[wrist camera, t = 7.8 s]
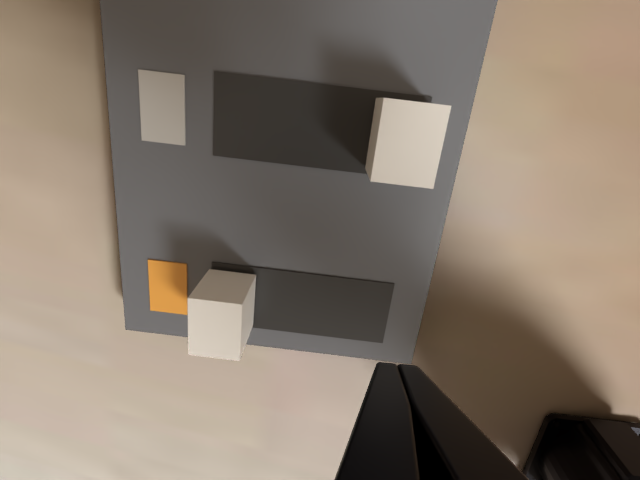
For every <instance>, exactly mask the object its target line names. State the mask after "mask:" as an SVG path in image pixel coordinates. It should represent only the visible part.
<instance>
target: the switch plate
mask: <svg viewBox="0 0 640 480" xmlns="http://www.w3.org/2000/svg"><path fill="white" fill-rule="evenodd" d="M497 1H498V0H100V10H101V23H102V35H103V48H104V61H105V74H106V86H107V99H108V112H109V125H110V137H111V150H112V163H113V176H114V188H115V201H116V214H117V227H118V239H119V252H120V265H121V278H122V290H123V303H124V316H125V329H126V330H133V331H141V332H149V333H158V334H166V335H174V336H182V337H188V297H189V295H190V294H191V293H192V291H193V290H194V289H195V287H196V286H197V285H198V283H199V282H200V281H201V279H202V278H203V277H204V275H205V274H206V273H207V271H208V270H209V269H213V270H221V271H230V272H238V273H246V274H254V275H256V286H255V303H254V320H253V327H252V330H251V332H250V335H249V338H248V340H247V343H246V344H248V345H257V346H265V347H273V348H282V349H290V350H298V351H306V352H315V353H323V354H331V355H339V356H348V357H356V358H364V359H372V360H381V361H389V362H397V363H406V364H411V362H412V358H413V354H414V350H415V345H416V341H417V337H418V333H419V329H420V324H421V320H422V316H423V312H424V308H425V303H426V299H427V295H428V291H429V287H430V282H431V278H432V274H433V270H434V266H435V261H436V257H437V253H438V249H439V245H440V240H441V236H442V232H443V228H444V224H445V219H446V215H447V211H448V207H449V203H450V198H451V194H452V190H453V186H454V182H455V177H456V173H457V169H458V165H459V160H460V156H461V152H462V148H463V144H464V139H465V135H466V131H467V127H468V123H469V118H470V114H471V110H472V106H473V102H474V97H475V93H476V89H477V85H478V81H479V76H480V72H481V68H482V64H483V60H484V55H485V51H486V47H487V43H488V39H489V34H490V30H491V26H492V22H493V18H494V13H495V9H496V5H497ZM376 98H391V99H399V100H408V101H416V102H425V103H433V104H441V105H450V106H451V111H450V115H449V120H448V124H447V129H446V133H445V138H444V142H443V147H442V151H441V156H440V161H439V165H438V170H437V174H436V179H435V183H434V188H433V189H429V188H421V187H412V186H404V185H396V184H387V183H379V182H371V181H370V179H369V177H368V174H367V171H366V169H365V166H366V159H367V153H368V146H369V140H370V133H371V126H372V120H373V113H374V107H375V100H376Z"/></svg>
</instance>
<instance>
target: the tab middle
mask: <svg viewBox="0 0 640 480" xmlns="http://www.w3.org/2000/svg"><path fill="white" fill-rule="evenodd" d="M450 111H451V106H450V105H441V104H433V103H425V102H416V101H408V100H399V99H391V98H376V100H375V107H374V113H373V120H372V126H371V133H370V140H369V146H368V153H367V159H366V166H365V169H366V171H367V174H368V177H369V179H370V181H371V182H379V183H387V184H396V185H404V186H412V187H421V188H429V189H433V188H434V183H435V179H436V174H437V170H438V165H439V161H440V156H441V151H442V147H443V142H444V138H445V133H446V129H447V124H448V120H449V115H450Z"/></svg>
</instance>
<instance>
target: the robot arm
mask: <svg viewBox="0 0 640 480" xmlns="http://www.w3.org/2000/svg"><path fill="white" fill-rule="evenodd" d="M335 480H640V424H638V423H630V422H622V421H613V420H605V419H597V418H589V417H580V416H572V415H564V414H556V413H554V414H549V415H548V416H546V418H545V419H544V422H543V424H542V427H541V429H540V431H539V434H538V436H537V439H536V441H535V444H534V446H533V448H532V451H531V453H530V456H529V458H528V461H527V463H526V465H525V468H524V470H523V473H522V472H521V471H520V470H519V469H518V468H517V467H516V466H515V465H514V464H513V463H512V462H511V461H510V460H509V459H508V458H507V457H506V456H505V455H504V454H503V453H502V452H501V451H500V450H499V449H498V447H497V446H496V445H495V444H494V443H493V442H492V441H491V440H490V439H489V438H488V437H487V436H486V435H485V434H484V433H483V432H482V431H481V430H480V429H479V428H478V427H477V426H476V425H475V424H474V423H473V422H472V421H471V420H470V419H469V418H468V417H467V416H466V415H465V414H464V413H463V412H462V411H461V410H460V409H459V408H458V407H457V406H456V405H455V404H454V403H453V402H452V401H451V400H450V399H449V398H448V397H447V396H446V395H445V394H444V393H443V392H442V391H441V390H440V389H439V388H438V387H437V385H436V384H435V383H434V382H433V381H432V380H431V379H430V378H429V377H428V376H427V375H426V374H425V373H424V372H423V371H422V370H421V369H420V368H419V367H417V366H415V365H404V364H399V365H398V366H397V365H396V364H393V363H382V362H379V363H377V364H376V367H375V370H374V372H373V375H372V378H371V381H370V383H369V386H368V389H367V392H366V394H365V397H364V400H363V403H362V405H361V408H360V411H359V414H358V416H357V419H356V422H355V425H354V427H353V430H352V433H351V436H350V438H349V441H348V444H347V447H346V449H345V452H344V455H343V458H342V460H341V463H340V466H339V469H338V471H337V474H336V477H335Z"/></svg>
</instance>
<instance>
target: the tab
mask: <svg viewBox="0 0 640 480" xmlns="http://www.w3.org/2000/svg"><path fill="white" fill-rule="evenodd" d="M255 286H256V275H254V274H246V273H238V272H230V271H221V270H213V269H209V270H208V271H207V273H206V274H205V275H204V277H203V278H202V279H201V281H200V282H199V283H198V285H197V286H196V287H195V289H194V290H193V291H192V293H191V294H190V295H189V297H188V355H193V356H202V357H210V358H218V359H226V360H235V361H240V359H241V356H242V354H243V351H244V348H245V346H246V343H247V340H248V338H249V335H250V332H251V330H252V327H253V320H254V303H255Z"/></svg>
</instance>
